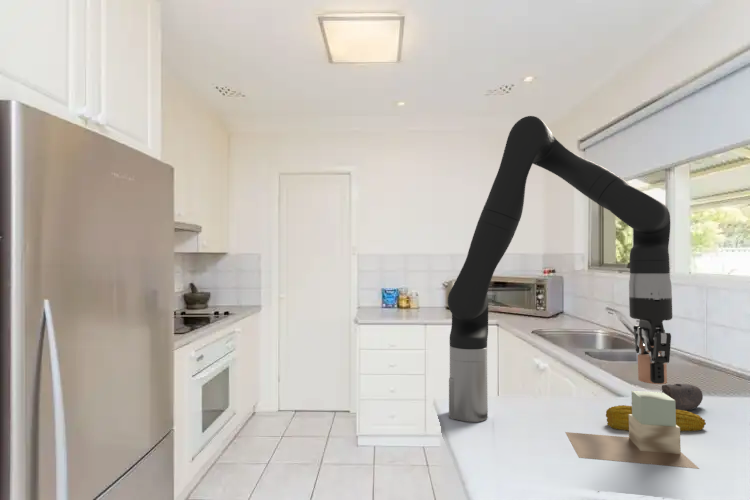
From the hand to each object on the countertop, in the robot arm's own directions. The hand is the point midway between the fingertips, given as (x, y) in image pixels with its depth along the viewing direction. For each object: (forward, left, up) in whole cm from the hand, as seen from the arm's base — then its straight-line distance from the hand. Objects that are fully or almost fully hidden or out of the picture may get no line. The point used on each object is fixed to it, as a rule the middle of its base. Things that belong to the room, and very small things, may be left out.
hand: (652, 379), depth 92 cm
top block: (0, 0, -8) cm, 8 cm away
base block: (0, 0, -13) cm, 13 cm away
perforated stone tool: (+18, +33, -15) cm, 40 cm away
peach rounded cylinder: (0, 0, 0) cm, 0 cm away
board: (-6, -3, -14) cm, 16 cm away
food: (+4, +12, -15) cm, 20 cm away
